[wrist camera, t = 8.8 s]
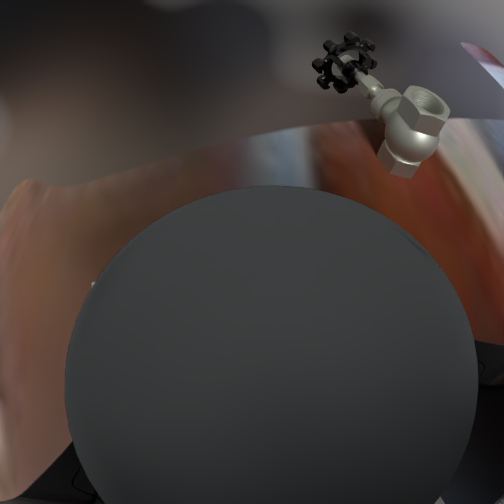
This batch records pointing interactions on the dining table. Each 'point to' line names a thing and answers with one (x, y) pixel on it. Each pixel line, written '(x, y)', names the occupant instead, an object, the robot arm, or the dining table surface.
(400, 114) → the valve
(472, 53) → the dining table surface
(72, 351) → the cup
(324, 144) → the dining table surface
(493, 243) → the dining table surface
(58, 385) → the dining table surface
